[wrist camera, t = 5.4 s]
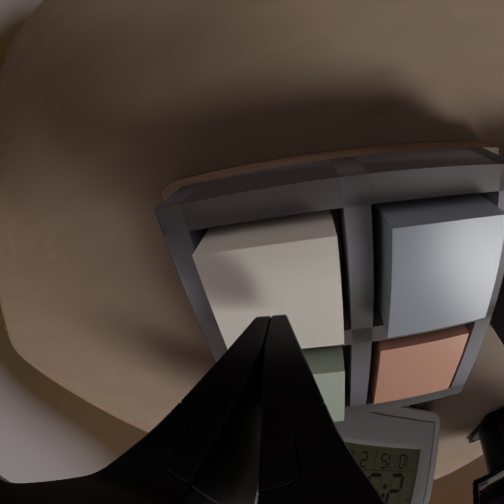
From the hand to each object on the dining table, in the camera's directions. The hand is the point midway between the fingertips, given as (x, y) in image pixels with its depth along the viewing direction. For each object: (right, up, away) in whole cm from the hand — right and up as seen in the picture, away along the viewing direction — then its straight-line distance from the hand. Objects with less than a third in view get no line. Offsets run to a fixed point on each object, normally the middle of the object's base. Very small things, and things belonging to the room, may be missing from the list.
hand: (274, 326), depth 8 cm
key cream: (0, +2, +3) cm, 3 cm away
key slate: (+6, +2, +1) cm, 6 cm away
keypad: (+4, +1, +6) cm, 7 cm away
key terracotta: (+7, -2, +5) cm, 9 cm away
